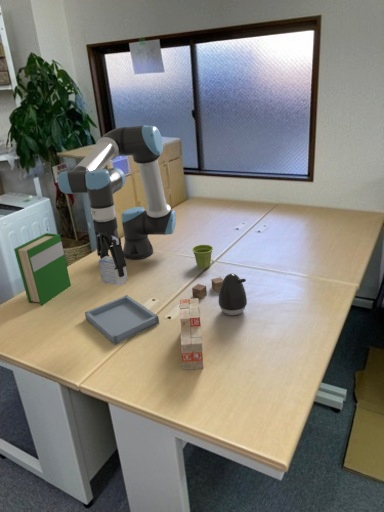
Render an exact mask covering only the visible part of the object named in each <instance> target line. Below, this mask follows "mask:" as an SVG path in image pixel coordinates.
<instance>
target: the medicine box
mask: <svg viewBox="0 0 384 512" xmlns="http://www.w3.org/2000/svg"><path fill="white" fill-rule="evenodd" d="M98 266H99V271H100V276H101V281H102V283H103V284H109V285H115V286H118V284H117V279H116V273H115V269H114V268H116V266H115V263H114V260H113V258H112V255H109V256H105V257H103V258H102V259H101V258H99V260H98ZM123 269H124V276H125V282H127V281H128V274H127V266H126V267H123Z"/></svg>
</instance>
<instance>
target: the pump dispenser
mask: <svg viewBox="0 0 384 512" xmlns="http://www.w3.org/2000/svg"><path fill="white" fill-rule="evenodd" d="M246 280H247V279H246V278H240V277H239V276H238V274H235V273H228V274H227V275H225V277H224V278H223V282H222V284H221V288H220V291H218V306H219V307H220V308H219V309H221V312H223V313H224V314H226V315H228V316H237V315H240V314H242V313H243V312H244V310H245V308H246V306H247V303H248V300H247V293H246V289H245V286H244V284H243V283H245V282H247V281H246Z"/></svg>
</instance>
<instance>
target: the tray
mask: <svg viewBox="0 0 384 512" xmlns="http://www.w3.org/2000/svg"><path fill="white" fill-rule="evenodd" d="M84 316H85V320H86V321H87V322H88V323H89V324H91V325H92V327H94V328H95V329H96V330H97V331H98V332H100V333H101V334H102V335H103V336H104V337H105V338H106V339H107V340H109V341H110V342H111V343H112V344H113V345H118V344H120V343H122V342H124V341H125V340H129V338H131V337H134V336H136V335H139V334H140V333H142V332H145V331H146V330H149V329H150V328H153V327H155V326H157V325H159V324H160V317H159V316H158V315H157V314H155V313H154V312H152V311H151V310H150V309H148V308H147V307H146V306H144V305H142V304H141V303H140V302H138V301H137V300H135V299H133V298H132V297H131V296H129V295H128V294H126V295H123V296H121V297H119V298H117V299H114V300H112V301H108V302H106V303H104V304H101V305H99V306H97V307H94V308H92V309H89V310H87V311H85V312H84Z"/></svg>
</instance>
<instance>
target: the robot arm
mask: <svg viewBox="0 0 384 512" xmlns="http://www.w3.org/2000/svg"><path fill="white" fill-rule="evenodd" d="M163 143H164V142H163V138H162V134H161V133H160V130H159V129H158V127H156V126H154V125H145V124H144V125H139V126H138V125H137V126H122V127H121V126H120V127H117V128H116V127H115V128H114V129H112V130H110V131H108V132H106V133H105V134H104V135H102V136H101V137H100V138H99V139H98V140H97V141H96V143H95V147H94V148H93V149H91V151H90V152H89V153H88V154H87V155H85V156H84V158H83V159H82V160H81V161H80V162H79V163H78V164H77V165H76V166H75V167H74V168H72V170H71V171H68V170H66V171H61V172H59V174H58V176H57V186H58V189H59V190H60V192H62V193H63V194H70V195H75V194H87V195H88V199H89V200H88V201H89V205H90V206H89V207H90V215H92V220H93V221H92V222H93V230H94V233H95V239H96V252H97V253H96V254H97V256H98V257H99V259H102V258H103V257H105V256H111V257H112V258H113V260H114V263H115V266H116V268H114V269H115V273H116V279H117V284H118V285H117V286H118V287H119V286H120V287H121V286H122V285H125V284H126V282H127V281H126V282H125V276H124V269H123V267H126V268H127V261H126V259H129V260H139V259H140V260H141V259H145V258H147V257H151V255H153V253H154V247H153V245H152V243H151V241H150V238H149V235H151V236H153V235H156V236H158V235H159V236H161V235H162V236H166V235H172V234H174V232H175V230H176V225H177V212H176V210H173V209H171V204H168V203H167V199H166V194H165V190H164V184H163V179H162V176H161V175H162V174H161V169H160V165H159V159H160V157H161V154H162V153H163V151H164V145H163ZM130 156H131V157H132V159H133V162H134V163H135V164H137V165H138V170H139V173H140V177H141V181H142V185H143V189H144V194H145V197H146V198H145V199H146V201H147V209H145V207H144V206H136V207H131V208H128V209H125V210H124V211H123V212H122V213H121V225H122V231H123V237H124V238H123V239H124V244H123V246H122V239H121V237H117V235H116V233H115V231H116V230H117V229H118V226H119V225H118V221H117V217H116V216H117V214H116V207H115V202H114V194H115V193H117V192H119V191H120V190H121V189H122V188H123V187H124V185H125V184H126V181H127V180H126V179H127V178H126V175H125V173H124V171H123V170H122V169H121V168H118V167H110V168H108V169H106V168H105V167H106V166H107V165H108V163H110V161H114V160H115V159H116V158H117V157H130ZM109 252H110V255H109Z"/></svg>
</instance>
